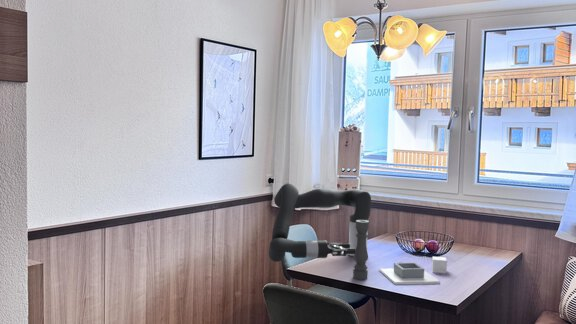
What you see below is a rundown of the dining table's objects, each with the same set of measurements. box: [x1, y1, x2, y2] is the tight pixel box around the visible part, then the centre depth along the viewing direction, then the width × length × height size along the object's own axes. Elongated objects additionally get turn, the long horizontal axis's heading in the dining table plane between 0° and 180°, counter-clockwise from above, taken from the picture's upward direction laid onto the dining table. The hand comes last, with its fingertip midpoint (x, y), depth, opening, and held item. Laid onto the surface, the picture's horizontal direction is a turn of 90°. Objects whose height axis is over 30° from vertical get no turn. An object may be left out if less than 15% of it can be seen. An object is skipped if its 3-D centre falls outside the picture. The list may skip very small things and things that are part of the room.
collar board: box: [378, 262, 441, 286], centre depth 229 cm, size 20×20×5 cm
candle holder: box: [352, 220, 370, 281], centre depth 225 cm, size 6×6×25 cm
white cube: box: [431, 256, 448, 274], centre depth 240 cm, size 6×6×6 cm
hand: (352, 248), depth 225 cm, fingers open, 8 cm apart
